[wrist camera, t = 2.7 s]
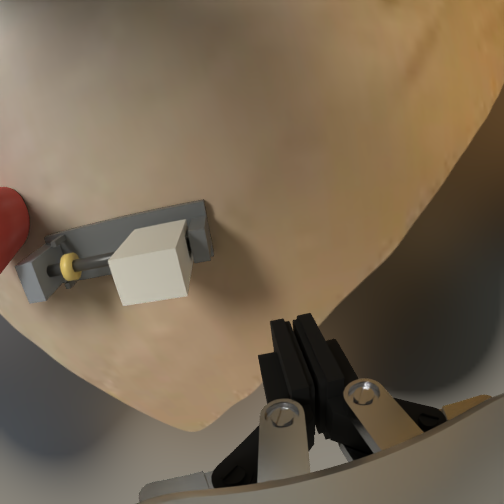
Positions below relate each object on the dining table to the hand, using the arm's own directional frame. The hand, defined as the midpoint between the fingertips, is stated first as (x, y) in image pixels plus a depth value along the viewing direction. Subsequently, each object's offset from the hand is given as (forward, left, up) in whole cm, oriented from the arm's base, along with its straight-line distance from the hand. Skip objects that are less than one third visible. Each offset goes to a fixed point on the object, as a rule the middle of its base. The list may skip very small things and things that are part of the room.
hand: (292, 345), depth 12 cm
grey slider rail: (0, -13, -20) cm, 23 cm away
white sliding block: (0, -8, -17) cm, 19 cm away
